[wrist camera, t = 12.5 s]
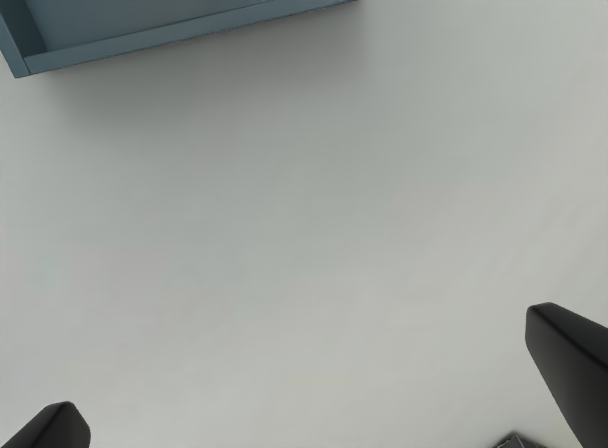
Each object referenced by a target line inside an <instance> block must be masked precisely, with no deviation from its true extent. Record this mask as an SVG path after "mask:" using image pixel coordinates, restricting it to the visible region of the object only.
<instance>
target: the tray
mask: <svg viewBox="0 0 608 448" xmlns="http://www.w3.org/2000/svg"><path fill="white" fill-rule="evenodd" d="M352 1H356V0H0V50H1V52H2V54H3V56H4V58H5V59H6V61H7V63H8V65H9V67H10V69H11V71H12V73H13V75H14V77H15V78H21V77H25V76H30V75H34V74H38V73H43V72H47V71H51V70H56V69H60V68H65V67H69V66H73V65H78V64H82V63H86V62H91V61H95V60H99V59H104V58H108V57H112V56H117V55H121V54H125V53H130V52H134V51H138V50H143V49H147V48H152V47H156V46H160V45H165V44H169V43H173V42H178V41H182V40H186V39H191V38H195V37H199V36H204V35H208V34H212V33H217V32H221V31H225V30H230V29H234V28H239V27H243V26H247V25H252V24H256V23H260V22H265V21H269V20H273V19H278V18H282V17H286V16H291V15H295V14H299V13H304V12H308V11H312V10H317V9H321V8H326V7H330V6H334V5H339V4H343V3H347V2H352Z"/></svg>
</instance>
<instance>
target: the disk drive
mask: <svg viewBox="0 0 608 448" xmlns="http://www.w3.org/2000/svg"><path fill="white" fill-rule="evenodd" d="M497 448H544V447H542V446H540V445H538V444H536V443H534V442H532V441H529V440H526V439H524V438H520V437H519V436H514V437H512V438H511V440H510V441H509V440H507V442H506V443H504V444H502V445H500V446H499V447H497Z"/></svg>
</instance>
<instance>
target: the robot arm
mask: <svg viewBox="0 0 608 448" xmlns="http://www.w3.org/2000/svg"><path fill="white" fill-rule="evenodd" d="M525 341H526V345H527V348H528V350H529V352H530V354H531V356H532V358H533V360H534V362H535V364H536V366H537V367H538V369H539V371H540V373H541V375H542V377H543V379H544V381H545V382H546V384H547V386H548V388H549V390H550V392H551V394H552V396H553V397H554V399H555V401H556V403H557V405H558V407H559V409H560V411H561V412H562V414H563V416H564V418H565V420H566V421H567V423H568V425H569V426H570V428H571V430H572V431H573V433H574V434H575V436H576V437H577V439H578V441H579V442H580V443H581V445H582V446H583V448H608V328H606V327H604V326H602V325H600V324H598V323H596V322H593V321H591V320H589V319H587V318H585V317H583V316H580V315H578V314H576V313H574V312H572V311H570V310H567V309H565V308H563V307H561V306H559V305H557V304H554V303H551V302H547V303H542V304H537V305H532V306H530V307H529V308H528V309H527V313H526V331H525ZM90 439H91V433H90V429H89V426H88V424H87V423H86V421H85V420H84V418H83V417H82V415H81V414H80V413H79V411H78V410H77V408H76V407H75V405H74V404H73V403H71V402H69V401H65V402H60V403H55V404H51V405H48V406H46V407H45V408H44V409H43V410H42V411H41V412H39V413H38V414H37V415H36V416H35V417H34V418H33V419H32V420H31V421H30V422H29V423H27V424H26V425H25V426H24V427H23V428H22V429H21V430H20V431H19V432H18V433H16V434H15V435H14V436H13V437H12V438H11V439H10V440H9V441H8V442H7V443H6V444H4V445H3V446H2V447H1V448H89V445H90Z"/></svg>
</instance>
